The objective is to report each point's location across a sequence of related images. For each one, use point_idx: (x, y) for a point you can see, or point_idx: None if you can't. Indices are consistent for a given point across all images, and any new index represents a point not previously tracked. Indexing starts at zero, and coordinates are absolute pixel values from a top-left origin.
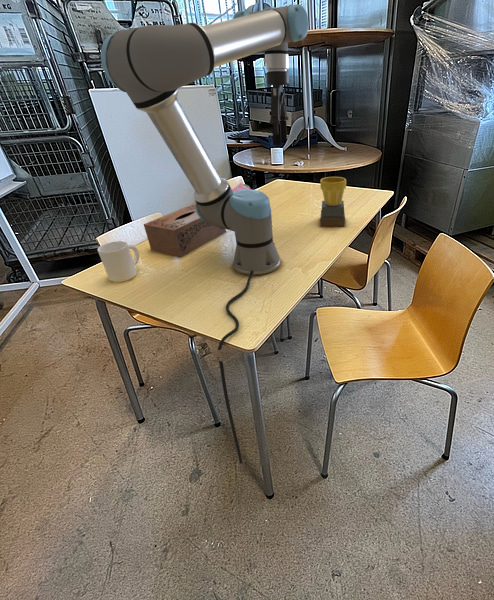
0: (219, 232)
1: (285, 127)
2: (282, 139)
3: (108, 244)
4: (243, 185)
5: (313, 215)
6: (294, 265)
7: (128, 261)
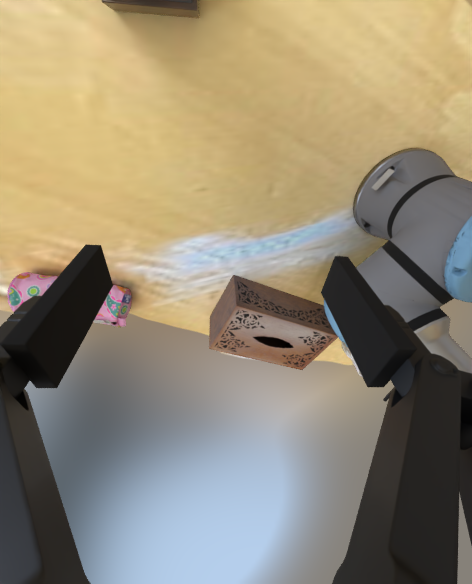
0: (249, 283)
1: (63, 303)
2: (106, 272)
3: (360, 373)
4: (20, 303)
5: (87, 49)
6: (432, 112)
7: None
